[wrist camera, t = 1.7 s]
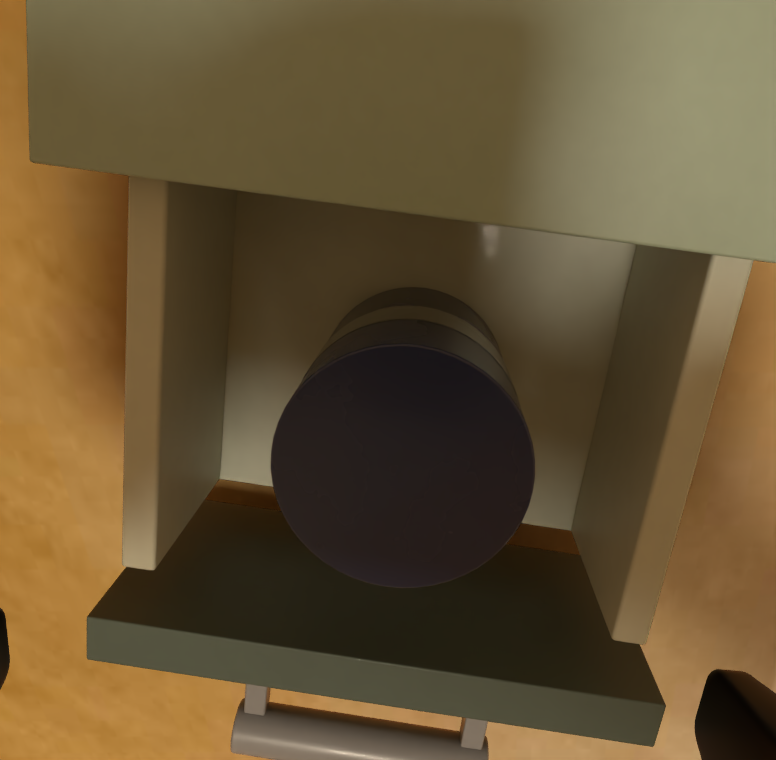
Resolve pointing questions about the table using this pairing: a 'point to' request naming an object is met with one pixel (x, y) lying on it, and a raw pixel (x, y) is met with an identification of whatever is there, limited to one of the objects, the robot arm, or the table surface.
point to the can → (405, 444)
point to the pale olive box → (431, 108)
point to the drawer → (390, 604)
